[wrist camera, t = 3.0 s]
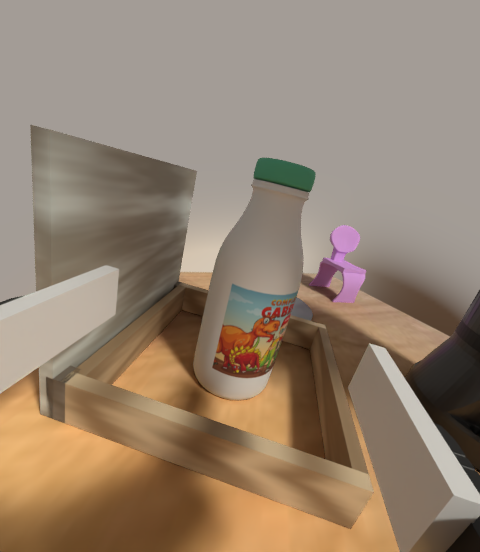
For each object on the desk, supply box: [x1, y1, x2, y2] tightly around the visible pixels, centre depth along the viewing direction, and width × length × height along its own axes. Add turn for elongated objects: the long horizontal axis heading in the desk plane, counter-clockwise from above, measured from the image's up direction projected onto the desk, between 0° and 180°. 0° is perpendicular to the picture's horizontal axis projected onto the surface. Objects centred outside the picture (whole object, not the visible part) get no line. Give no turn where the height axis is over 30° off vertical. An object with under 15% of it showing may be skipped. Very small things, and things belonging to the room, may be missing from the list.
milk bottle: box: [193, 158, 315, 400], centre depth 23 cm, size 8×8×20 cm
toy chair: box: [309, 225, 366, 303], centre depth 55 cm, size 8×9×15 cm
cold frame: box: [31, 125, 374, 529], centre depth 23 cm, size 22×20×18 cm
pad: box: [291, 297, 313, 321], centre depth 43 cm, size 14×14×1 cm
